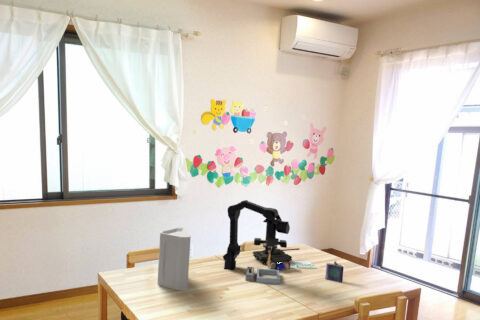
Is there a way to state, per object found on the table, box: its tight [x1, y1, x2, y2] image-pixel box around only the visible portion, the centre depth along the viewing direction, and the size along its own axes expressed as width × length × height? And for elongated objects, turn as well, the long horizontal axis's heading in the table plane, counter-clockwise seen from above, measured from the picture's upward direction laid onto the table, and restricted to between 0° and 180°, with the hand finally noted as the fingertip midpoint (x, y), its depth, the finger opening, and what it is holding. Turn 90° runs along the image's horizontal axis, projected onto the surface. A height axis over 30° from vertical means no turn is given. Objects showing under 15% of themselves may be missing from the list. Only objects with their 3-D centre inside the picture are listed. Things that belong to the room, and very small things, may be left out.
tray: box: [256, 268, 281, 285], centre depth 199 cm, size 13×14×3 cm
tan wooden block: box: [267, 251, 271, 269], centre depth 199 cm, size 1×6×8 cm, turn 176°
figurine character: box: [266, 256, 293, 270], centre depth 216 cm, size 7×8×15 cm
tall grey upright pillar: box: [156, 226, 191, 291], centre depth 185 cm, size 19×15×28 cm
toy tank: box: [252, 247, 300, 266], centre depth 233 cm, size 12×34×10 cm, turn 113°
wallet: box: [324, 260, 344, 283], centre depth 204 cm, size 10×3×12 cm, turn 65°
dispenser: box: [244, 266, 255, 282], centre depth 200 cm, size 5×12×5 cm, turn 176°
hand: (269, 257), depth 199 cm, fingers closed on tan wooden block, 1 cm apart
